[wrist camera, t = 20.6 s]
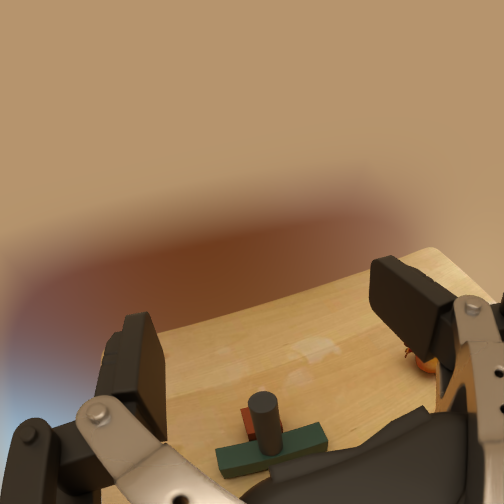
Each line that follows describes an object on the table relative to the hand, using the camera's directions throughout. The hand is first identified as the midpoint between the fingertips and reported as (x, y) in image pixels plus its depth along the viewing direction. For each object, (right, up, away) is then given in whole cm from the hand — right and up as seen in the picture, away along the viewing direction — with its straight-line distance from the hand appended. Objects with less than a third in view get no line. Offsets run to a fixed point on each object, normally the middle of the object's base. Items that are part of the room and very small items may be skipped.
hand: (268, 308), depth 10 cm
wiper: (+2, -22, +19) cm, 29 cm away
